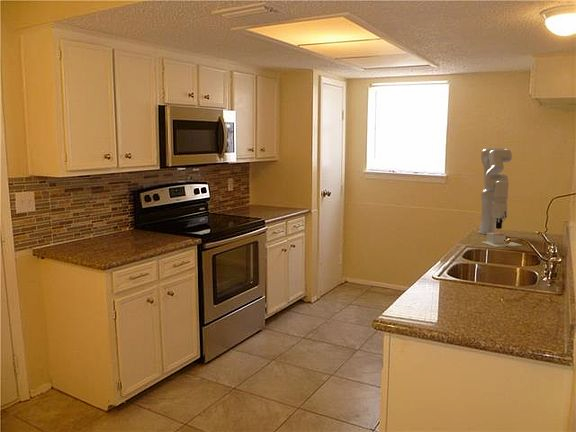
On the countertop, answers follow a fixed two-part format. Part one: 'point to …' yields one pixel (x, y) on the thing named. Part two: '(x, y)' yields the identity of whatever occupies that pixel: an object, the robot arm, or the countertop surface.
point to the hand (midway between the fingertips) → (498, 228)
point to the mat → (502, 244)
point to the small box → (496, 238)
